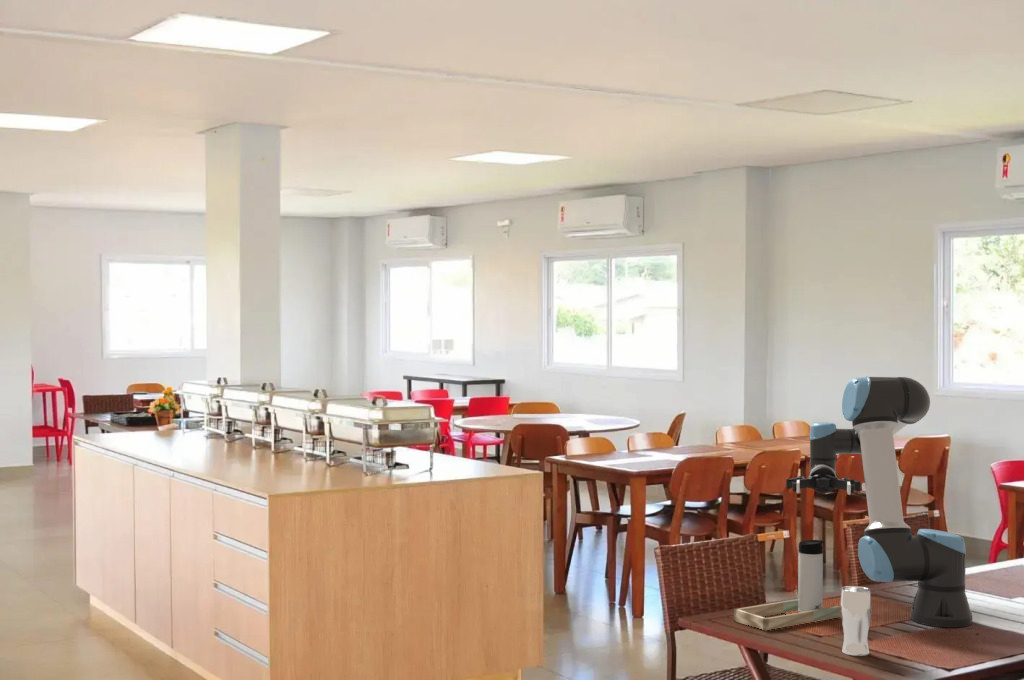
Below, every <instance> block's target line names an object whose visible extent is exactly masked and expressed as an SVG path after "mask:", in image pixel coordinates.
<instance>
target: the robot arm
mask: <svg viewBox="0 0 1024 680" xmlns="http://www.w3.org/2000/svg"><path fill="white" fill-rule="evenodd" d="M930 406H931V399H930V395H929V392H928V390H927V389H926V388H925V386H924V385H923V384H921V383H920V382H919V381H917V380H915V379H913V378H912V377H911V378H910V377H907V376H891V377H890V376H889V377H888V376H864V377H863V376H862V377H854V378H852V379H850V380H849V381H848V383H847V384H846V386H845V388H844V391H843V395H842V401H841V411H842V416H843V417H844V419H845V420H846V421H848V422H851V423H852V425H851V426H852V428H837V425H836V423H834V422H829V421H828V422H825V421H819V422H817V421H816V422H813V423H811V425H810V429H809V455H810V456H809V475H808V477H807V478H805V476H803V475H798V476H797V477H792V478H787V479H786V480H785V483H786V484H785V488H786V489H788V490H789V489H792V492H796V493H797V494H799V493H800V489H806V488H807V489H812V490H814V491H815V492H817V493H818V494H819V493H820V494H828V493H830V492H832V491H833V490H838V489H839V490H845V491H846V493H847V495H849V496H851V493H852V492H854V491H857V492H861V491H862V489H861V487H862V482H861V481H858V480H855V479H854V478H852V479H851V478H848V477H847V476H846V477H843V478H841V479H839V478H838V477H837V472H836V471H837V469H836V466H837V465H836V464H837V463H836V462H837V461H836V460H837V458H836V457H837V455H857V454H858V455H861V461H862V468H863V477H864V478H863V479H864V485H865V486H864V487H865V495H866V503H867V513H868V520H869V524H868V526H867V527H866V528H865V529H864V536H862V537H860V539H859V540H858V544H857V545H858V547H857V555H858V559H859V560H858V561H859V564H860V566H861V569H862V571H863V573H865V575H866V577H868V578H869V579H870V580H871V581H873V582H876V583H877V582H878V583H879V582H883V583H887V584H888V583H892V582H893V583H894V582H895V583H898V582H917V590H916V593H915V596H914V599H913V602H912V606H911V608H910V619H911V620H912V621H913V622H916V623H918V624H922V625H926V626H932V627H940V628H961V627H968V626H971V625H972V624H973V613H972V611H971V607H970V603H969V599H968V597H967V594H966V558H967V556H966V555H967V550H966V541H965V539H964V537H963V536H961V535H959V534H956V533H953V532H950V531H949V532H948V531H943V530H937V529H932V528H920V529H918V531H917V533H916V534H917V535H912V528H911V526H910V525H908V524H907V523H906V522H905V521H904V515H903V514H904V512H903V506H902V505H903V504H902V496H901V488H900V487H901V486H900V481H899V479H900V478H899V472H898V464H897V454H896V448H895V441H894V440H895V439H894V435H896V434H897V433H898V432H899V431H901V430H902V429H903V428H905V427H906V426H908V425H914V424H916V423H919V422H920V421H922V419H924V418H925V416H926V415H927V414H928V411H929V410H930Z"/></svg>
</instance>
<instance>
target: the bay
mask: <svg viewBox="0 0 1024 680" xmlns="http://www.w3.org/2000/svg"><path fill="white" fill-rule="evenodd" d="M796 610H798V598H796V599H788V600H783V601H776V602H770V603H764V604H758V605H753V606H746V607H740V608H734V609H733V622H736V623H739V624H743V625H745V626H748V625H749V627H751V626H752V628H754V627H756V628H755V629H757V628H759V629H758V630H760V629H762V630H761V631H763V630H770V631H772V630H771V629H775V630H777V629H776V628H781V627H785V626H791V625H796V624H801V623H807V622H814V621H818V620H824V619H831V618H838V617H840V618H841V609H840V605H834V606H830V607H829V606H828V607H823V608H822V609H816V610H810V611H804V612H798V613H792V614H786V615H785V614H781V613H786V612H791V611H796ZM777 614H778V615H777ZM771 615H772V616H771ZM765 616H766V617H765ZM838 619H839V618H838ZM781 629H782V628H781Z"/></svg>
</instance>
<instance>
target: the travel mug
mask: <svg viewBox="0 0 1024 680" xmlns="http://www.w3.org/2000/svg"><path fill="white" fill-rule="evenodd" d="M824 544H825V540H824V539H809V540H808V539H807V540H802V541H800V542H799V543H798V551H797V552H798V553H797V554H798V562H797V566H798V567H797V573H798V575H797V576H798V579H797V580H798V581H797V587H798V588H797V592H798V593H797V599H798V612H804V611H810V610H816V609H822V608H824V607H823V594H824V593H823V589H824V588H823V587H824V583H823V581H824V579H823V577H824V574H823V572H824V571H823V569H824V567H823V566H824V564H823V563H824V561H823V560H824V559H823V557H824V556H823V555H824V553H823V549H824V548H823V545H824Z"/></svg>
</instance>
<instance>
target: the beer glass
mask: <svg viewBox="0 0 1024 680" xmlns="http://www.w3.org/2000/svg"><path fill="white" fill-rule="evenodd" d="M840 590H841V591H840V592H841V593H840V603H839V607H840V619H841V625H842V631H843V644H842V648H841V651H842V653H843V654H844V655H847V656H851V657H852V656H853V657H864V656H865V657H866V656H868V655H870V649H869V644H868V634H869V628H870V623H871V617H872V597H871V596H872V595H871V589H870V588H868V587H864V586H858V585H845V586H842V587H841V589H840Z"/></svg>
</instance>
